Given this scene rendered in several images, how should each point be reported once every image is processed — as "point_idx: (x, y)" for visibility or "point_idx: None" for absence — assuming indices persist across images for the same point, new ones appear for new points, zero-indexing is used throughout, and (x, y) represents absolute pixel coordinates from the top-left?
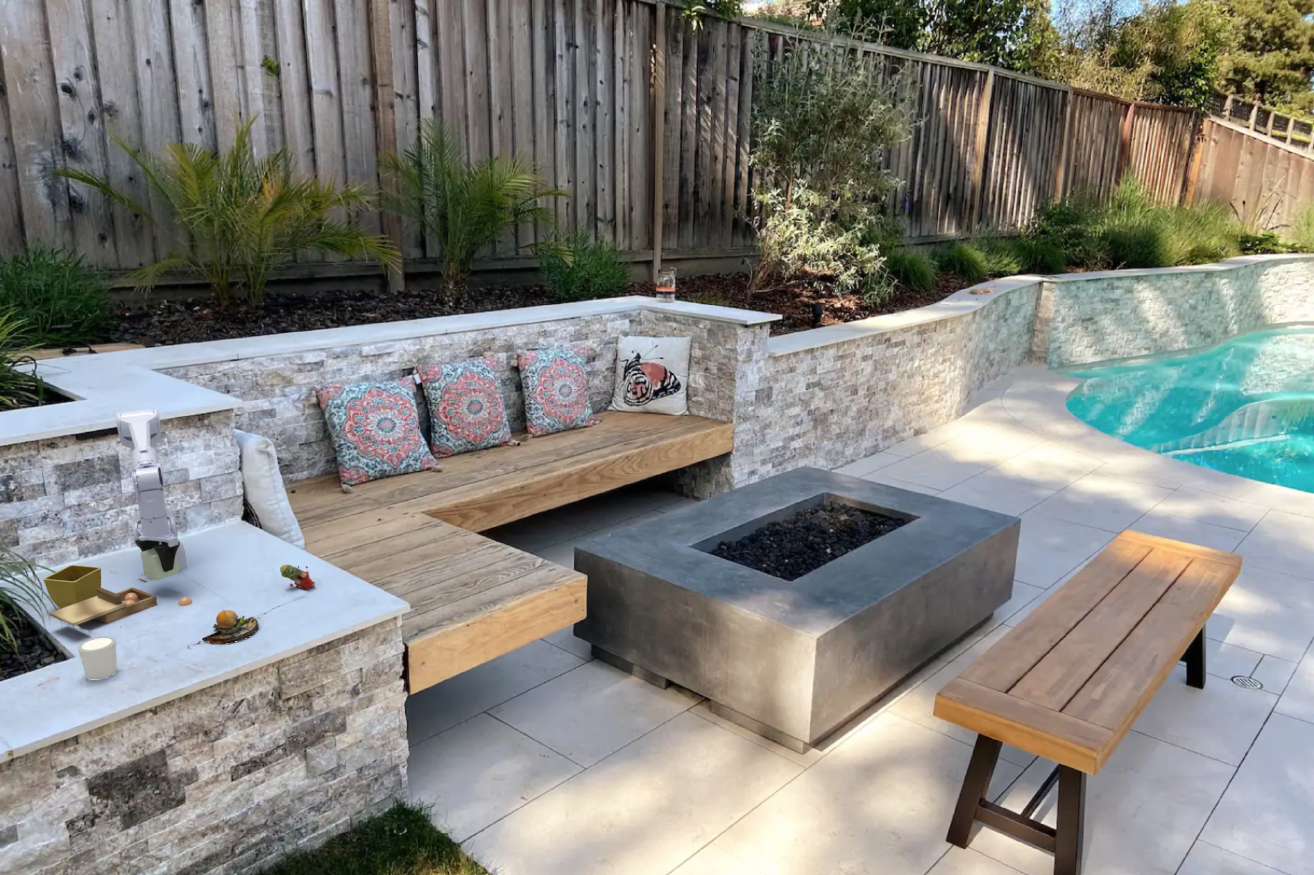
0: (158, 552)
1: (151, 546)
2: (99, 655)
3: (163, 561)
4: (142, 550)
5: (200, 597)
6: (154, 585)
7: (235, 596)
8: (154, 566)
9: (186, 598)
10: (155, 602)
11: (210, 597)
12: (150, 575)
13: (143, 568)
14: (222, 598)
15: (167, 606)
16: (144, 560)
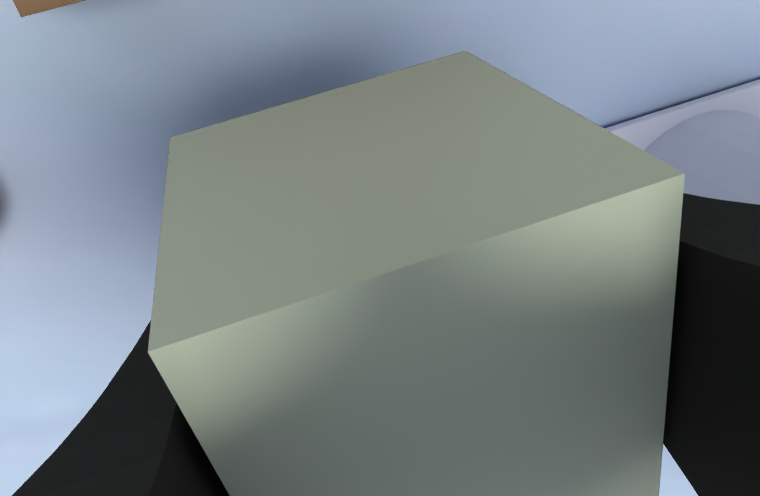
0: None
1: (708, 393)
2: None
3: (104, 395)
4: (749, 223)
5: (145, 319)
6: (600, 124)
7: (15, 483)
8: (195, 214)
9: None
10: None
11: (100, 368)
12: (330, 100)
13: (500, 75)
14: (27, 423)
15: (108, 87)
16: (506, 142)
